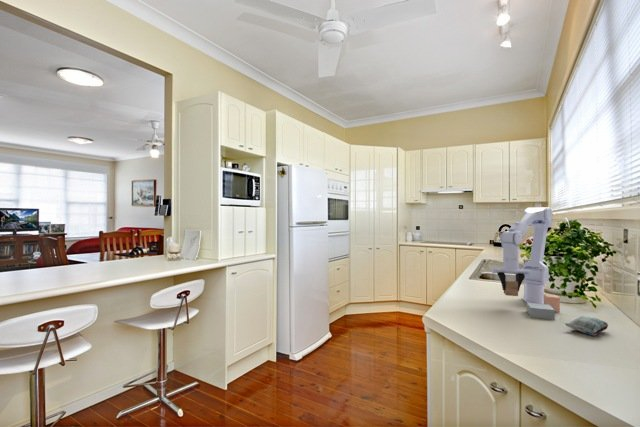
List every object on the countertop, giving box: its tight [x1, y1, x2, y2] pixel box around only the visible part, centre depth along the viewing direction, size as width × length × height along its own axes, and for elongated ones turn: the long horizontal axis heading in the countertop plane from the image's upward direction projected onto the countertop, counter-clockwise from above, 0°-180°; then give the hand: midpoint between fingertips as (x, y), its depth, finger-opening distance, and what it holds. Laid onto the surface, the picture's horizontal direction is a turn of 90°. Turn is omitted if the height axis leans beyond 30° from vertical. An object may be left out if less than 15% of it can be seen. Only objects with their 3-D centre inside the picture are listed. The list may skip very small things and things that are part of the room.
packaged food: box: [564, 316, 609, 336], centre depth 113 cm, size 9×12×5 cm
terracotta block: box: [544, 293, 561, 313], centre depth 138 cm, size 4×4×6 cm
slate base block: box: [526, 303, 556, 321], centre depth 131 cm, size 8×8×4 cm
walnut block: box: [503, 278, 519, 297], centre depth 140 cm, size 4×4×6 cm
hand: (510, 290), depth 140 cm, fingers closed on walnut block, 4 cm apart
